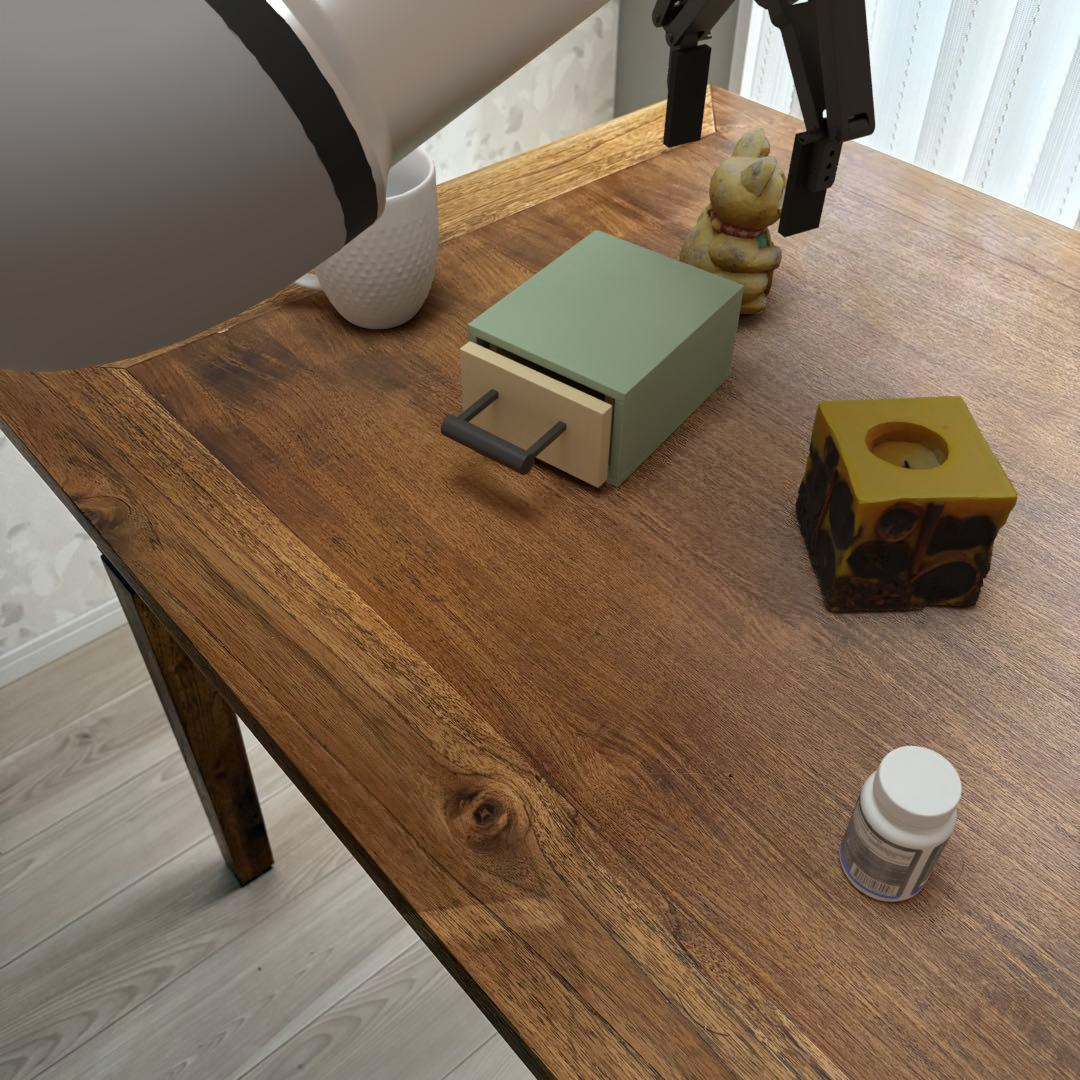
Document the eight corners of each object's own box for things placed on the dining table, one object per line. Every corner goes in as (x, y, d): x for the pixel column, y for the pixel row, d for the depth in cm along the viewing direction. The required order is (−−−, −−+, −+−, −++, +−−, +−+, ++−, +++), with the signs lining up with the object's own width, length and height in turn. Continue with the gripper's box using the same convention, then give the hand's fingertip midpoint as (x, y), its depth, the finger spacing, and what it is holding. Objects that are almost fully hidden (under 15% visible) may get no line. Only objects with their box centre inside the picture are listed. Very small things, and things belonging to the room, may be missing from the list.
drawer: (552, 533, 76) (554, 458, 71) (414, 461, 81) (407, 387, 76) (707, 382, 88) (717, 309, 83) (579, 327, 93) (582, 256, 88)
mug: (260, 342, 93) (230, 198, 84) (286, 270, 101) (261, 132, 91) (437, 347, 93) (427, 204, 83) (450, 275, 100) (442, 136, 91)
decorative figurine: (781, 328, 95) (814, 163, 84) (687, 336, 94) (708, 170, 83) (750, 268, 102) (777, 107, 91) (662, 274, 101) (679, 113, 90)
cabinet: (617, 488, 81) (625, 394, 75) (471, 416, 86) (467, 324, 80) (729, 376, 90) (744, 285, 84) (591, 318, 96) (595, 229, 90)
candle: (977, 610, 73) (1026, 499, 66) (826, 617, 72) (858, 506, 65) (928, 503, 80) (968, 392, 73) (790, 508, 79) (816, 398, 72)
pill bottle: (898, 815, 62) (938, 728, 56) (943, 891, 59) (990, 807, 53) (821, 836, 61) (854, 751, 55) (863, 914, 58) (902, 832, 52)
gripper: (1011, -131, 54) (903, 258, 69) (718, -236, 69) (682, 100, 84) (890, -110, 51) (805, 288, 66) (613, -224, 66) (596, 120, 82)
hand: (736, 184), depth 75 cm, fingers open, 13 cm apart
